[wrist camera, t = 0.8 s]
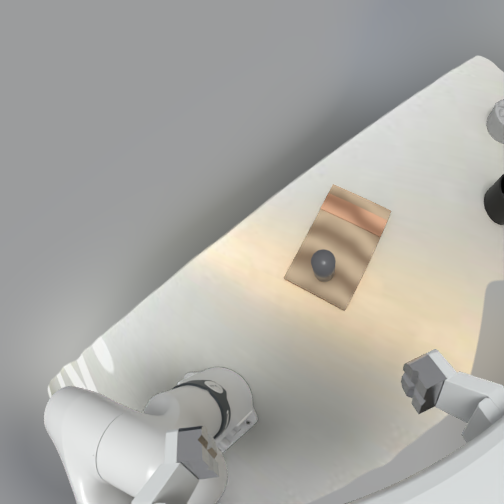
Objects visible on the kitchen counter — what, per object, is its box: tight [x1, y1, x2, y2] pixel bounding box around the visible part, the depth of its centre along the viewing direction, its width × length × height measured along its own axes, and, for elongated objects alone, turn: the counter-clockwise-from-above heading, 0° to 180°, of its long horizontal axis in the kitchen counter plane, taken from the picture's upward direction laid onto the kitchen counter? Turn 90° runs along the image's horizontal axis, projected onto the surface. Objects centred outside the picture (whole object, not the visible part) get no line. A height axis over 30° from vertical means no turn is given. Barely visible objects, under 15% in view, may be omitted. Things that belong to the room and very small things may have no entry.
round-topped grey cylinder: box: [311, 249, 336, 282], centre depth 53 cm, size 4×4×12 cm
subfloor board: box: [284, 184, 391, 310], centre depth 60 cm, size 23×14×2 cm, turn 150°
